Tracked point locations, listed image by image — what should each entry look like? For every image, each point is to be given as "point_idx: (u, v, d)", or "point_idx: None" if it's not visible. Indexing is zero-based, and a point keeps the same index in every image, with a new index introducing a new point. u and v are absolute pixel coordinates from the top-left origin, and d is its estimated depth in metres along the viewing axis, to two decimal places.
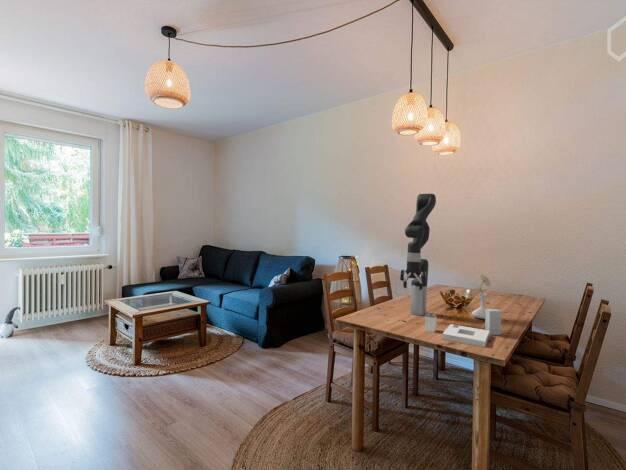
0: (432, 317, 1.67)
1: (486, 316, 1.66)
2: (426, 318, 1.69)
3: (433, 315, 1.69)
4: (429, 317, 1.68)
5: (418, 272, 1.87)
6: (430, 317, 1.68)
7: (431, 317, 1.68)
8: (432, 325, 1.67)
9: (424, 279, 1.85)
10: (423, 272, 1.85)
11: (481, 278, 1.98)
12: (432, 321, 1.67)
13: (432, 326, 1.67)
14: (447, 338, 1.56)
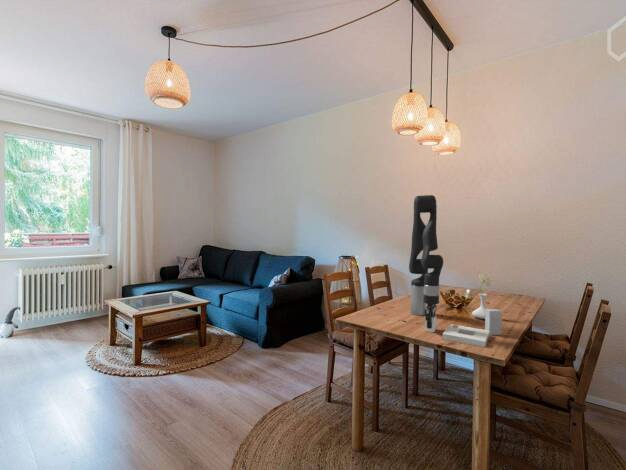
0: (432, 317, 1.67)
1: (486, 316, 1.66)
2: None
3: (433, 315, 1.69)
4: None
5: (434, 305, 1.72)
6: None
7: None
8: (432, 325, 1.67)
9: None
10: (436, 305, 1.74)
11: (481, 278, 1.98)
12: (432, 321, 1.67)
13: (432, 326, 1.67)
14: (447, 338, 1.56)
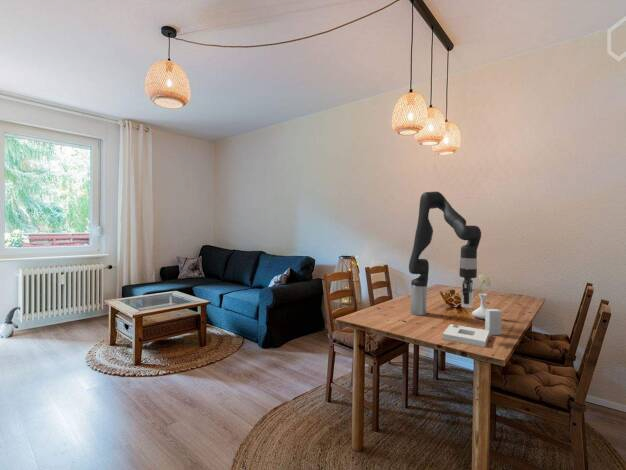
0: None
1: (486, 316, 1.66)
2: None
3: None
4: (466, 292, 1.57)
5: (471, 279, 1.61)
6: None
7: None
8: (469, 300, 1.57)
9: None
10: (472, 280, 1.63)
11: (481, 278, 1.98)
12: (469, 296, 1.57)
13: (469, 301, 1.57)
14: (447, 338, 1.56)
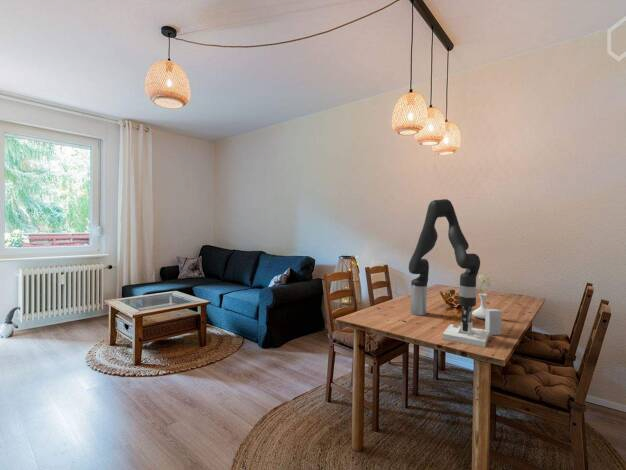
0: (468, 322, 1.57)
1: (486, 316, 1.66)
2: (462, 323, 1.59)
3: (469, 320, 1.59)
4: None
5: (470, 307, 1.62)
6: None
7: None
8: (468, 331, 1.57)
9: None
10: None
11: (481, 278, 1.98)
12: (468, 326, 1.57)
13: (468, 332, 1.57)
14: (447, 338, 1.56)
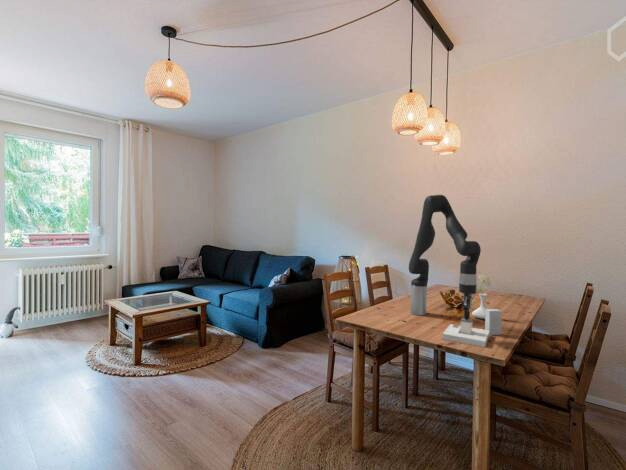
0: (468, 322, 1.57)
1: (486, 316, 1.66)
2: (462, 323, 1.59)
3: (469, 320, 1.59)
4: (465, 322, 1.58)
5: None
6: (466, 322, 1.58)
7: (467, 322, 1.58)
8: (468, 331, 1.57)
9: None
10: None
11: (481, 278, 1.98)
12: (468, 326, 1.57)
13: (468, 332, 1.57)
14: (447, 338, 1.56)
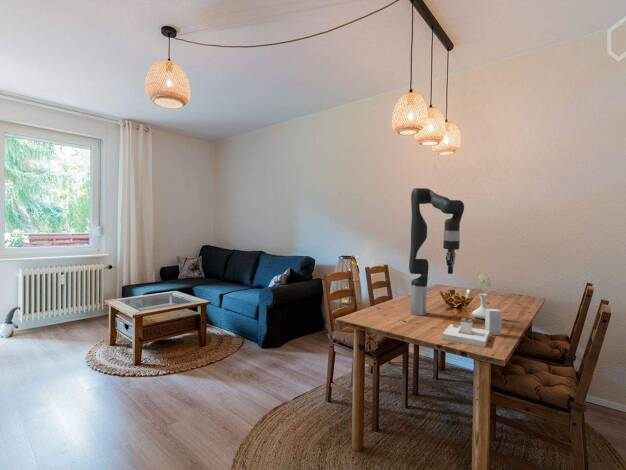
0: (468, 322, 1.57)
1: (486, 316, 1.66)
2: (462, 323, 1.59)
3: (469, 320, 1.59)
4: (465, 322, 1.58)
5: (454, 252, 1.71)
6: (466, 322, 1.58)
7: (467, 322, 1.58)
8: (468, 331, 1.57)
9: (454, 261, 1.71)
10: None
11: (481, 278, 1.98)
12: (468, 326, 1.57)
13: (468, 332, 1.57)
14: (447, 338, 1.56)
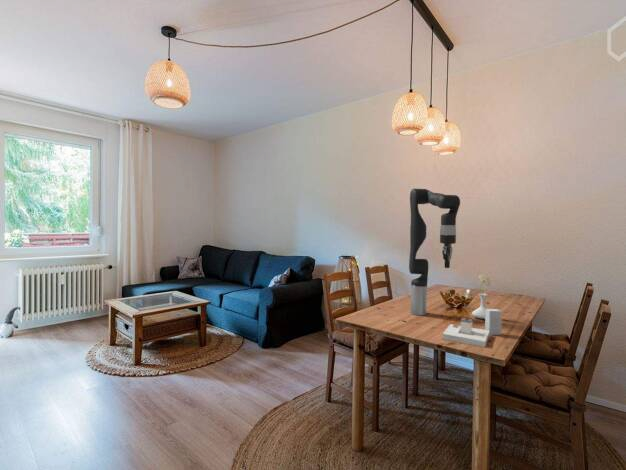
0: (468, 322, 1.57)
1: (486, 316, 1.66)
2: (462, 323, 1.59)
3: (469, 320, 1.59)
4: (465, 322, 1.58)
5: None
6: (466, 322, 1.58)
7: (467, 322, 1.58)
8: (468, 331, 1.57)
9: None
10: None
11: (481, 278, 1.98)
12: (468, 326, 1.57)
13: (468, 332, 1.57)
14: (447, 338, 1.56)
